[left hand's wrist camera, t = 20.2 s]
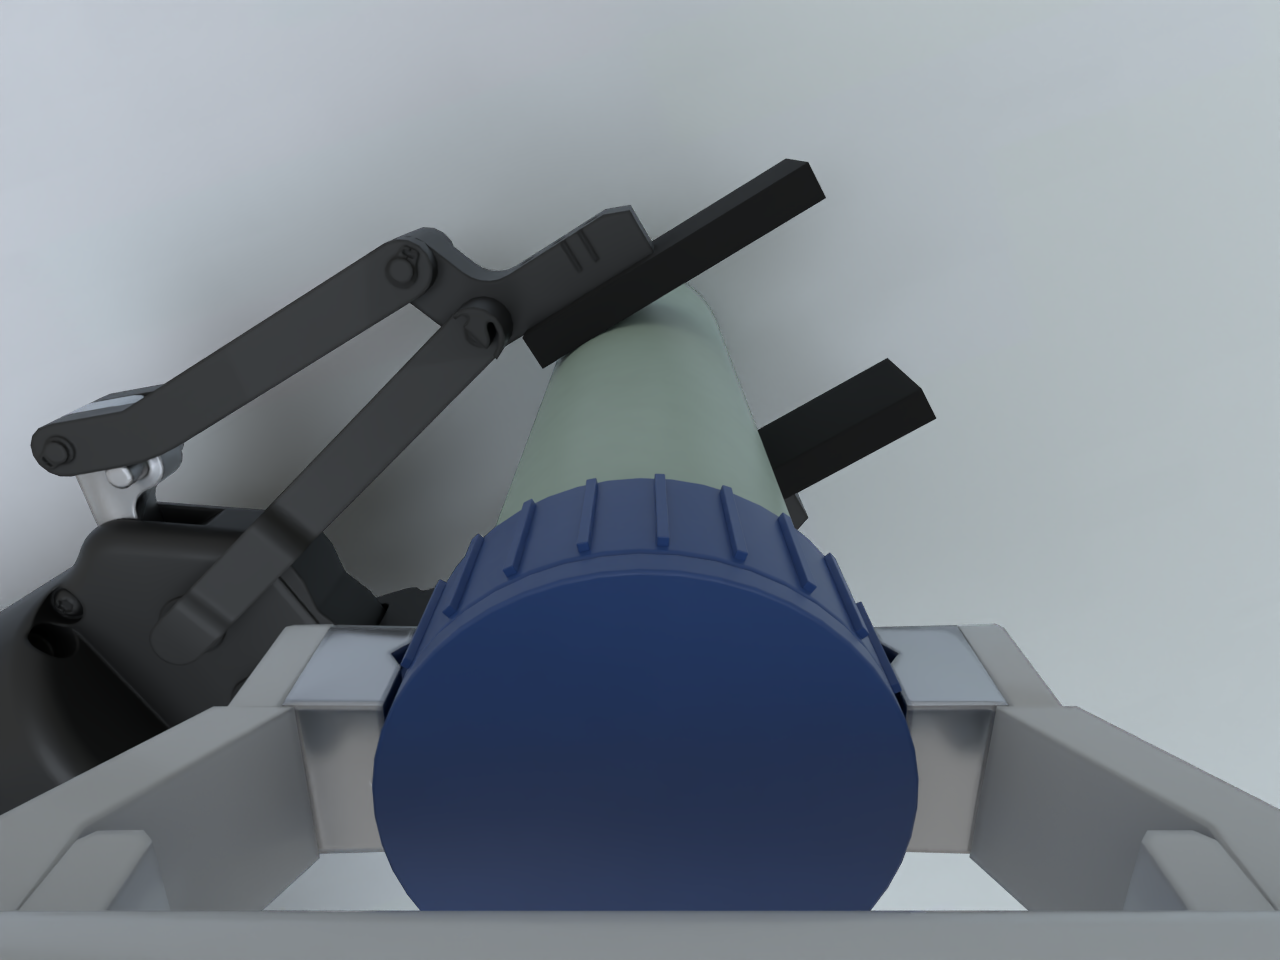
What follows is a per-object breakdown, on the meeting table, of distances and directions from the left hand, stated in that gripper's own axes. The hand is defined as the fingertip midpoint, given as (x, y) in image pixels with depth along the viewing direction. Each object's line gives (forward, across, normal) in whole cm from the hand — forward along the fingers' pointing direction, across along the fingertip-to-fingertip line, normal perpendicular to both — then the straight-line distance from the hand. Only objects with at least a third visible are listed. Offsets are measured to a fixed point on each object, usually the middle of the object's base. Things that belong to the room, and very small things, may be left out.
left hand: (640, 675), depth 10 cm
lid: (-2, 0, 0) cm, 2 cm away
